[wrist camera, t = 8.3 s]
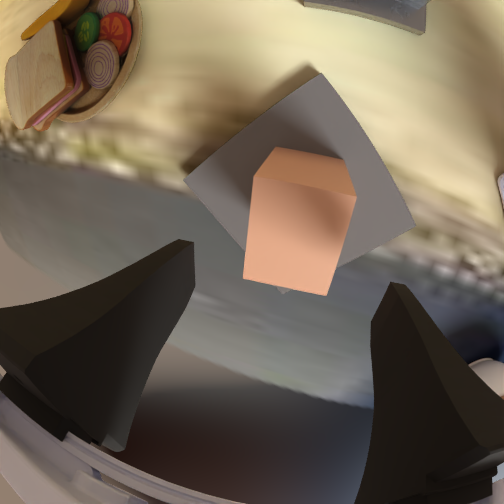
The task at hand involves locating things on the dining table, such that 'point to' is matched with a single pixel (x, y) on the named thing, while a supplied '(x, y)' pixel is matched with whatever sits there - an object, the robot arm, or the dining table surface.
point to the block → (298, 220)
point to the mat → (313, 141)
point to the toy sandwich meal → (72, 61)
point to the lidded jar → (490, 374)
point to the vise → (381, 11)
